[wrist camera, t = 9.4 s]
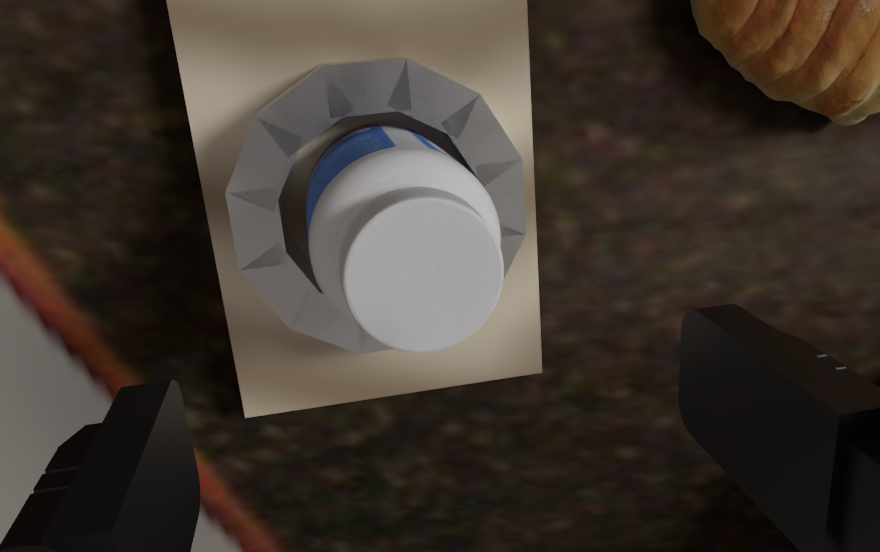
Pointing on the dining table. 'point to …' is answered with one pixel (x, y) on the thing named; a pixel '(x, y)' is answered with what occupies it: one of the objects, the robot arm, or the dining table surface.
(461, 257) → the pill bottle
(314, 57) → the ring plate
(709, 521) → the dining table surface
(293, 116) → the ring collar
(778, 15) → the pastry
